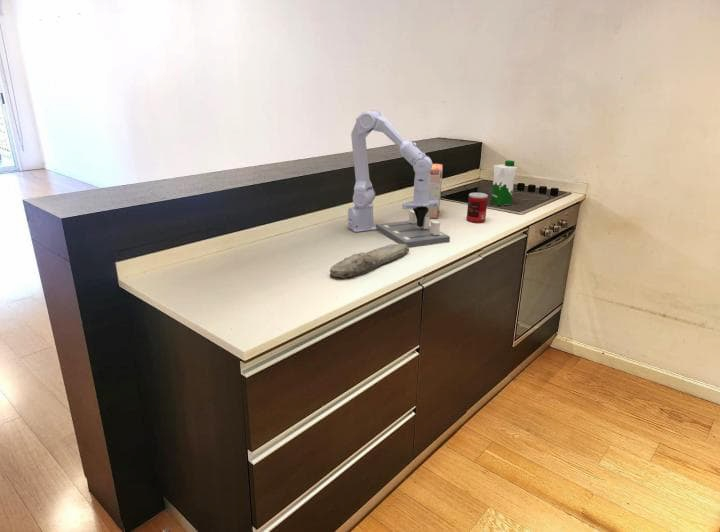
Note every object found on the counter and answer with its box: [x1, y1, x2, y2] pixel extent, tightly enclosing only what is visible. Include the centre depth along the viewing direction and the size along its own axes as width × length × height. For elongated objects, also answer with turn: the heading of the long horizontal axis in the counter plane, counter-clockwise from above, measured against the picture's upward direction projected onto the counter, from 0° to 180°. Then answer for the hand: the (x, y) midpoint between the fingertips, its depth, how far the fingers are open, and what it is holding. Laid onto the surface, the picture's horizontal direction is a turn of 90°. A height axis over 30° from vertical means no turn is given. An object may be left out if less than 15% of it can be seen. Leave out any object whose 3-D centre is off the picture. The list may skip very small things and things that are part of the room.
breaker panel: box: [375, 220, 451, 249], centre depth 185 cm, size 18×24×2 cm
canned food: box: [466, 192, 489, 224], centre depth 204 cm, size 8×8×11 cm
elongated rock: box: [329, 243, 410, 279], centre depth 157 cm, size 35×5×10 cm
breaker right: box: [429, 220, 441, 235], centre depth 179 cm, size 2×3×4 cm
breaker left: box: [408, 209, 417, 224], centre depth 193 cm, size 2×3×4 cm
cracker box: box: [426, 163, 443, 220], centre depth 210 cm, size 14×6×21 cm, turn 168°
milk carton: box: [490, 160, 518, 206], centre depth 229 cm, size 9×9×20 cm
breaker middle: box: [421, 216, 431, 229], centre depth 186 cm, size 2×3×4 cm
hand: (419, 226), depth 186 cm, fingers closed
